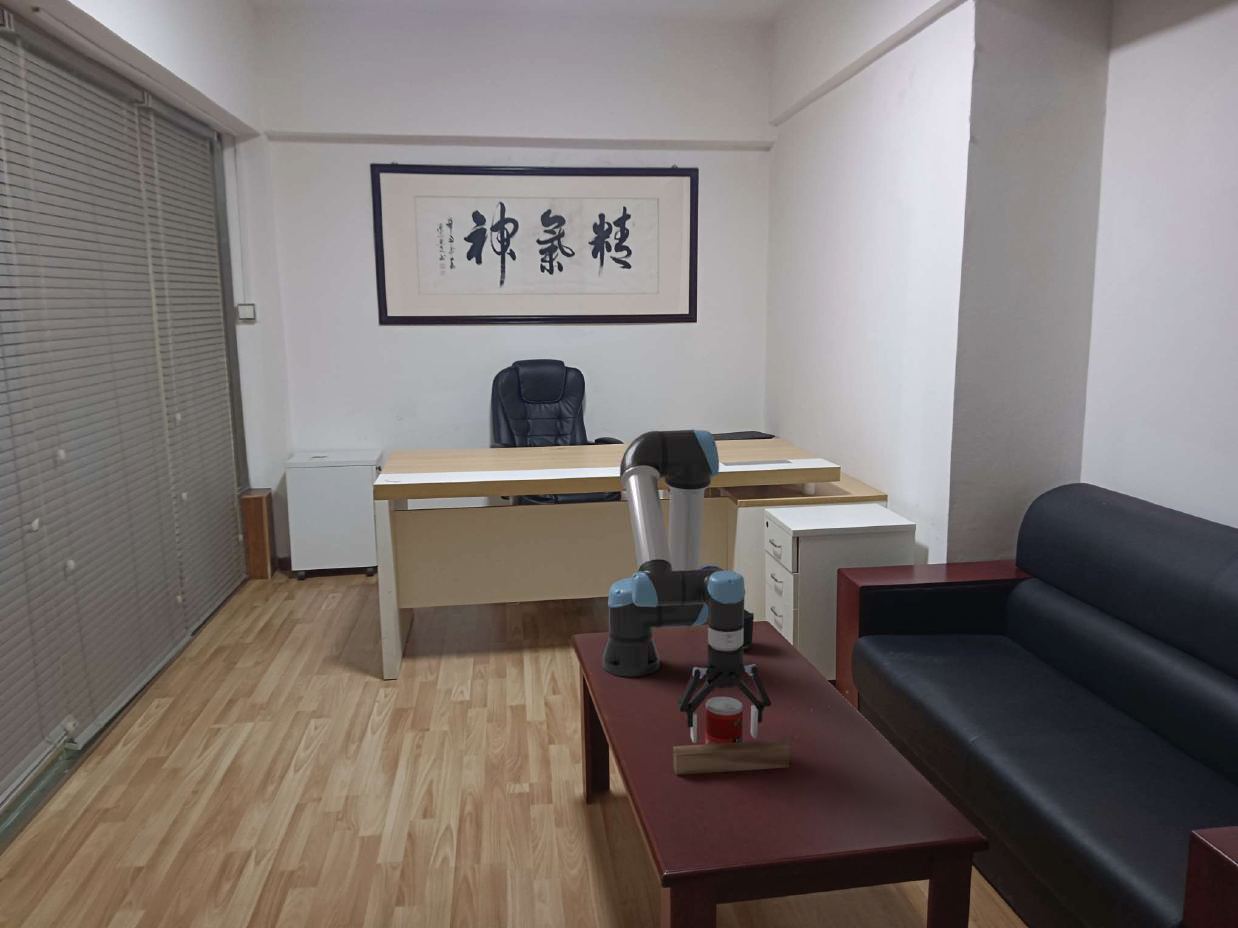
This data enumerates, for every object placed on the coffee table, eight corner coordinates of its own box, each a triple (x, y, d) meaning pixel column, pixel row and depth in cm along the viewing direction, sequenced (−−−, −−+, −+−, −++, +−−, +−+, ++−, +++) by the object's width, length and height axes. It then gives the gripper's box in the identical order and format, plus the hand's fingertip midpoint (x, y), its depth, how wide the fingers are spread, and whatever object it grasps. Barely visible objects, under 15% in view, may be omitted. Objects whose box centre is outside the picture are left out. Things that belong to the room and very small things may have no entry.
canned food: (740, 761, 189) (741, 713, 187) (703, 758, 191) (703, 710, 189) (743, 744, 197) (744, 697, 195) (706, 740, 198) (707, 694, 196)
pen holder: (718, 651, 247) (718, 617, 245) (720, 639, 256) (720, 606, 254) (752, 654, 246) (753, 619, 244) (753, 641, 255) (754, 607, 253)
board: (673, 766, 188) (673, 746, 187) (783, 758, 191) (784, 739, 190) (676, 774, 185) (676, 754, 184) (788, 766, 187) (789, 747, 186)
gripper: (671, 654, 184) (670, 750, 188) (787, 648, 187) (784, 742, 191) (664, 640, 192) (664, 732, 196) (777, 635, 194) (774, 725, 198)
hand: (723, 737), depth 193 cm, fingers open, 13 cm apart
